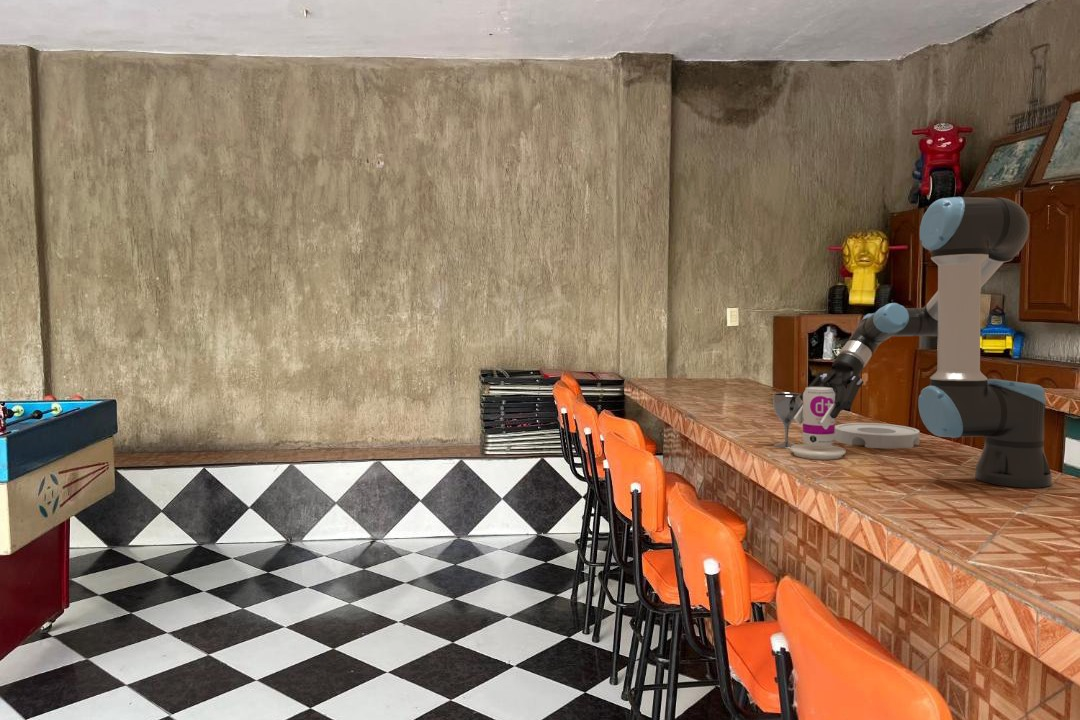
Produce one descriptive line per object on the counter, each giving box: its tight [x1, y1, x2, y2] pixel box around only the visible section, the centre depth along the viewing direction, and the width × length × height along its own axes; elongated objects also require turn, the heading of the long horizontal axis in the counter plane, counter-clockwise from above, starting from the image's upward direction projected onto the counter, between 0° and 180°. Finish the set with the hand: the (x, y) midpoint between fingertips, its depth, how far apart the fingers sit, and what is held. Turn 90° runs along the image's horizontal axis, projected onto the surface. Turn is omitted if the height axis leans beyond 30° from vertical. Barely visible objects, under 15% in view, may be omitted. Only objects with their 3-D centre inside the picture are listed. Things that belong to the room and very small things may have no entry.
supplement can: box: [801, 386, 836, 446], centre depth 213 cm, size 8×8×15 cm
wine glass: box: [772, 391, 803, 449], centre depth 227 cm, size 8×8×15 cm
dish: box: [790, 443, 846, 461], centre depth 214 cm, size 14×14×2 cm
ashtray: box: [834, 422, 921, 450], centre depth 234 cm, size 23×23×4 cm
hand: (809, 423), depth 212 cm, fingers closed on supplement can, 8 cm apart
